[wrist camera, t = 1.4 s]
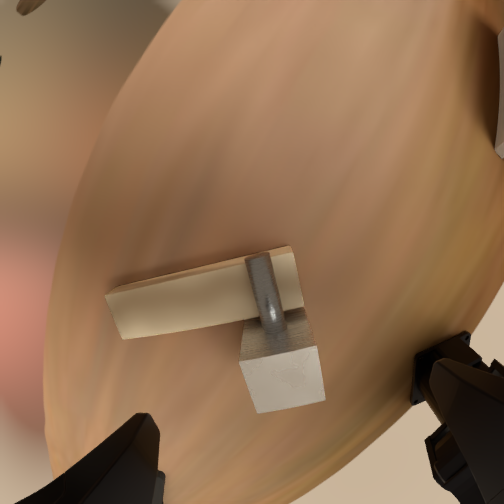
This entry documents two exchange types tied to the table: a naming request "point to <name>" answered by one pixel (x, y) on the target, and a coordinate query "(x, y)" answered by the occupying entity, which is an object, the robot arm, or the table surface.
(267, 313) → the marking gauge
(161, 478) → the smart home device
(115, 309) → the pine board
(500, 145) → the white rounded piece
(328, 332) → the table surface
